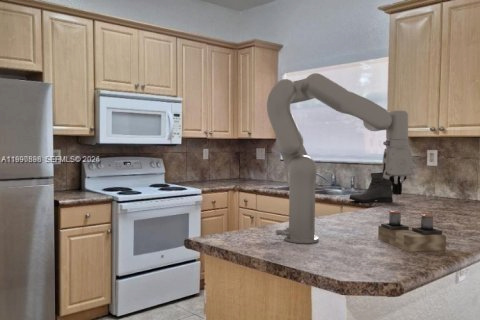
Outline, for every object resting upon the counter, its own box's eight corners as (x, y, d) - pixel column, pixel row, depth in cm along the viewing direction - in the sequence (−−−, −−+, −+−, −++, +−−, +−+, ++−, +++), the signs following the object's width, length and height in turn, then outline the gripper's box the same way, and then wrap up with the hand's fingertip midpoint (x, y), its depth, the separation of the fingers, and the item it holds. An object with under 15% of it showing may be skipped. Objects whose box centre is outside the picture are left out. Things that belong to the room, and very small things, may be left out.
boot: (346, 201, 277) (346, 171, 276) (388, 200, 281) (388, 171, 280) (352, 203, 267) (353, 172, 266) (396, 202, 271) (396, 172, 270)
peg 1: (392, 230, 156) (393, 212, 156) (386, 228, 160) (387, 210, 160) (402, 230, 157) (403, 212, 157) (396, 227, 161) (397, 210, 161)
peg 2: (425, 234, 149) (425, 215, 148) (418, 232, 153) (418, 214, 152) (435, 234, 149) (435, 215, 149) (428, 232, 153) (428, 213, 153)
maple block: (408, 251, 144) (409, 233, 143) (378, 238, 163) (378, 222, 163) (445, 250, 146) (446, 232, 146) (411, 237, 166) (411, 221, 166)
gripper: (383, 144, 152) (383, 196, 153) (421, 144, 155) (421, 194, 156) (373, 144, 160) (373, 193, 160) (409, 144, 162) (409, 192, 163)
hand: (397, 194), depth 158 cm, fingers closed
